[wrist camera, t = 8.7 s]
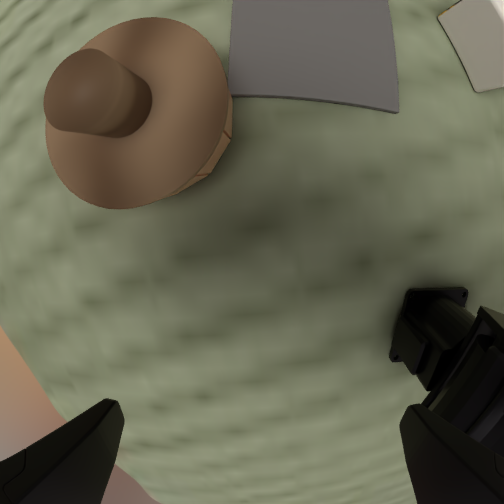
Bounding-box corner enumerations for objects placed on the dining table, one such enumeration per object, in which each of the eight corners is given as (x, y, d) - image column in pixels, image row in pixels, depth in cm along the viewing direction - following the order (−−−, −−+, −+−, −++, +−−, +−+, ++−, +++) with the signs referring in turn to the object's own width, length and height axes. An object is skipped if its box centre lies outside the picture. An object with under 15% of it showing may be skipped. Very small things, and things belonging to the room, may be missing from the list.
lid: (232, 15, 11) (222, -41, 6) (226, 205, 14) (209, 226, 9) (66, 47, 11) (14, 23, 6) (56, 209, 14) (-4, 228, 9)
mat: (382, -10, 13) (385, -13, 12) (395, 113, 16) (399, 112, 15) (236, -28, 13) (235, -33, 12) (228, 96, 16) (227, 94, 16)
